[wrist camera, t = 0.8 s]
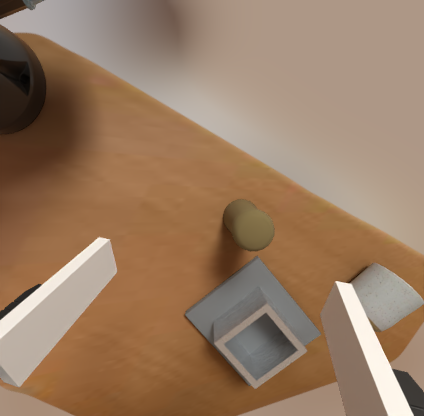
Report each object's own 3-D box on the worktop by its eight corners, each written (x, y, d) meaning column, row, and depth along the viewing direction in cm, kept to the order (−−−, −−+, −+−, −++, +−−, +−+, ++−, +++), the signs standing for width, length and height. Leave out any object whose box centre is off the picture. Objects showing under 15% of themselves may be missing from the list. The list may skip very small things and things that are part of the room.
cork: (220, 232, 35) (225, 254, 24) (226, 196, 34) (234, 203, 23) (255, 237, 35) (276, 262, 24) (262, 202, 34) (286, 211, 23)
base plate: (185, 311, 37) (185, 315, 36) (257, 255, 35) (258, 257, 34) (248, 380, 38) (249, 386, 37) (318, 329, 37) (321, 333, 36)
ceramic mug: (328, 287, 36) (360, 316, 29) (363, 255, 36) (406, 276, 28) (366, 325, 38) (406, 362, 30) (401, 295, 37) (451, 325, 29)
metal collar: (213, 321, 36) (214, 343, 31) (259, 286, 35) (267, 303, 30) (249, 361, 37) (255, 389, 32) (294, 327, 36) (307, 351, 31)
